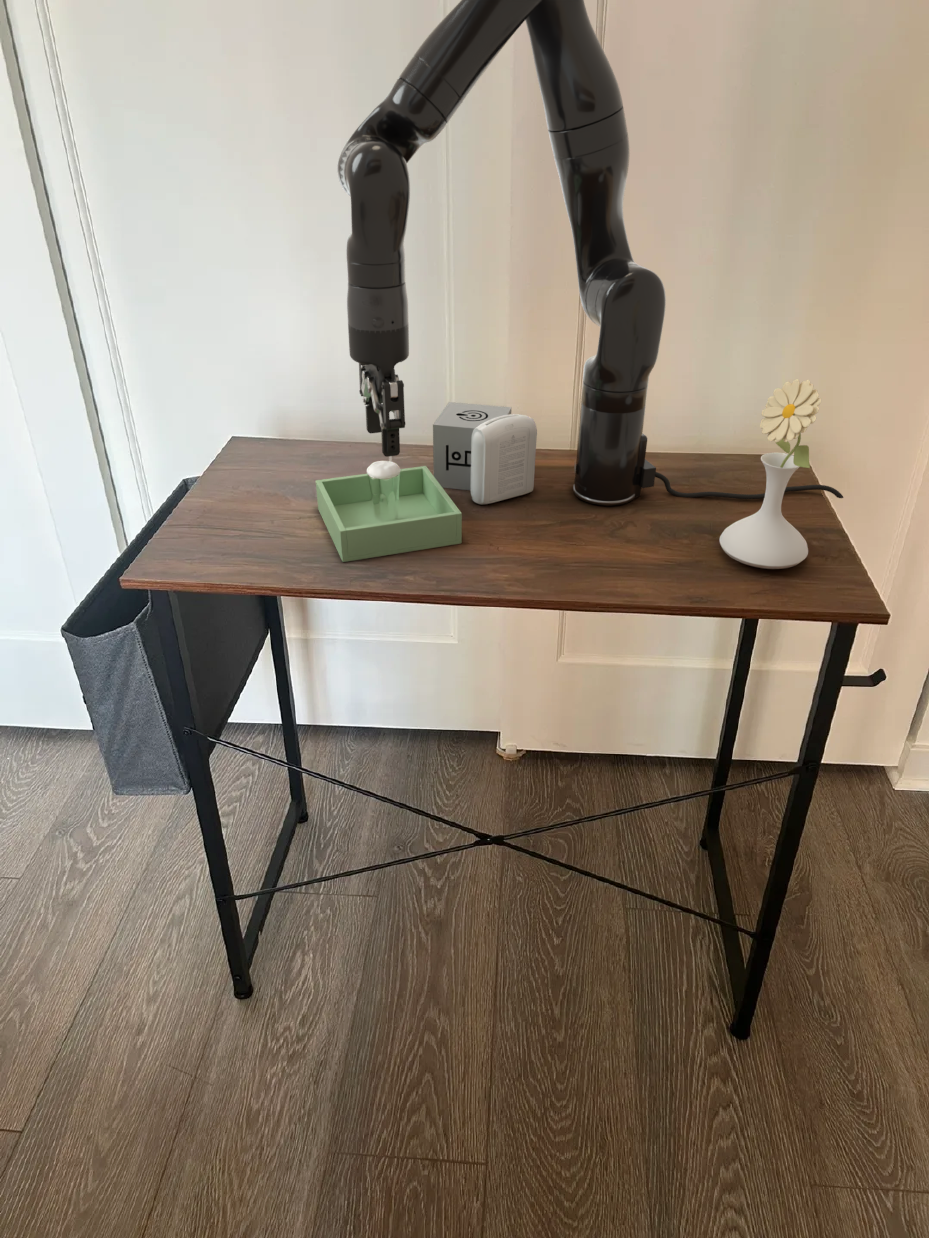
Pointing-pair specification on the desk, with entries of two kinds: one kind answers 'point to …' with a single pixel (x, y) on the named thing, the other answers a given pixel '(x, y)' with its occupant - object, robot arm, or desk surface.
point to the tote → (419, 524)
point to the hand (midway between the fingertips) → (382, 443)
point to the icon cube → (458, 441)
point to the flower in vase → (776, 483)
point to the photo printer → (503, 458)
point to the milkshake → (384, 490)
